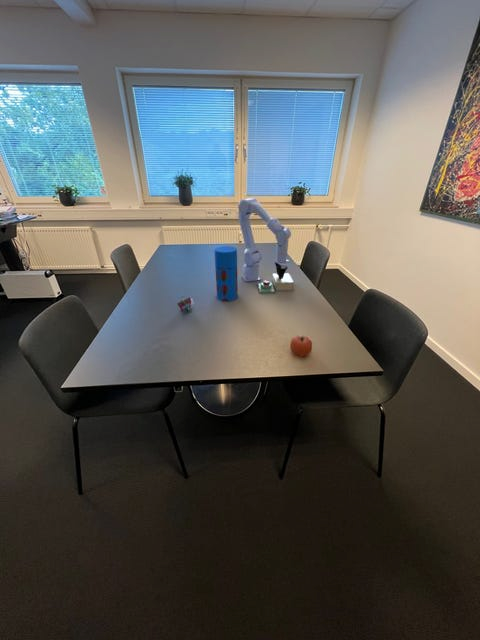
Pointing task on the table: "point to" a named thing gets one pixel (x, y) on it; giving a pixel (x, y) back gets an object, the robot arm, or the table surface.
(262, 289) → the control pad
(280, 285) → the beige open box
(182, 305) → the geometric puzzle
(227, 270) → the thermos
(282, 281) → the lid
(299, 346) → the red apple
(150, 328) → the table surface
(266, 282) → the button
